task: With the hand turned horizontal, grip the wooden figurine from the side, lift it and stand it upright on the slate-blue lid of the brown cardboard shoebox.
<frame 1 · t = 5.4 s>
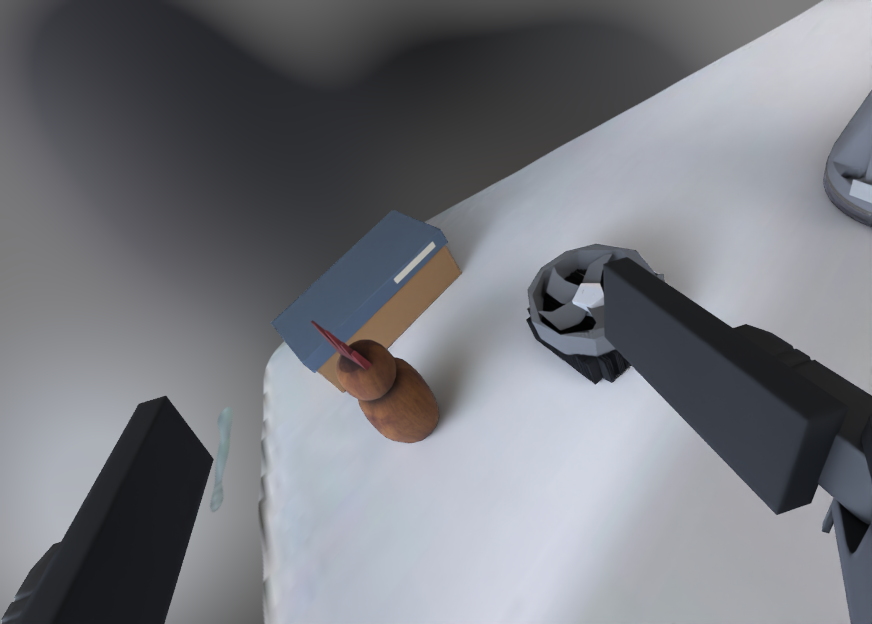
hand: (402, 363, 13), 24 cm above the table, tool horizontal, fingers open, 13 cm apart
shoebox: (384, 315, 54), on the table
wooden figurine: (419, 420, 42), on the table
cpu cooler: (601, 329, 39), on the table
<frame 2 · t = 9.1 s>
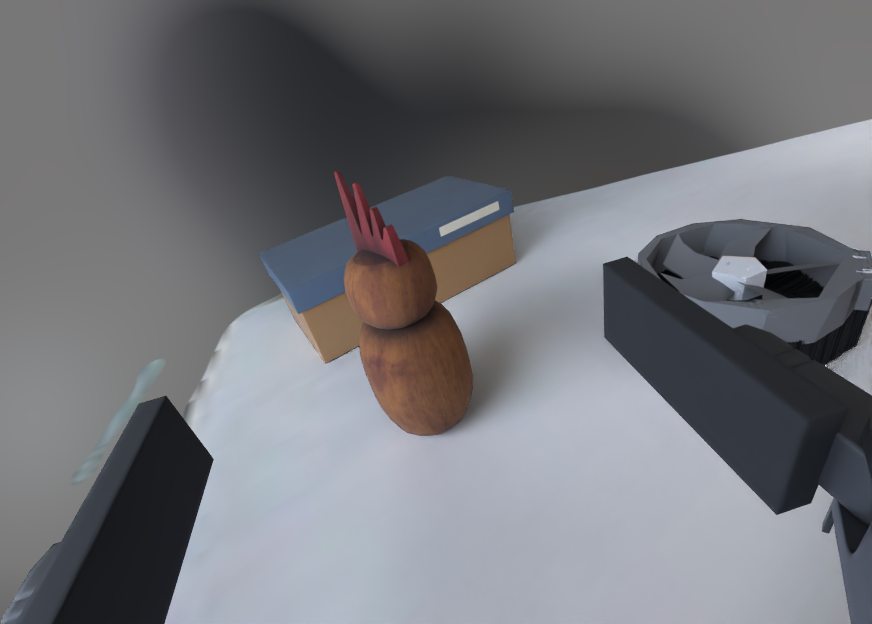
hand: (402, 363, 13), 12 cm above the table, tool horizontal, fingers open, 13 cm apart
shoebox: (404, 291, 41), on the table
wooden figurine: (432, 412, 28), on the table
cpu cooler: (727, 339, 27), on the table
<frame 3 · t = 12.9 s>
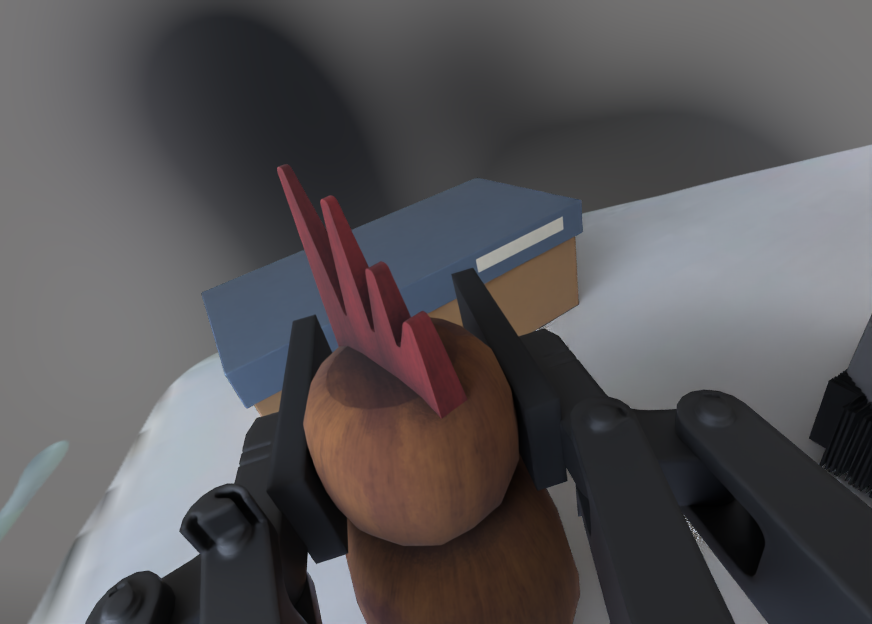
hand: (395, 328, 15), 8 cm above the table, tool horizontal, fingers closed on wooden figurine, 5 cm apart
shoebox: (417, 343, 29), on the table
wooden figurine: (480, 614, 15), on the table, touching gripper
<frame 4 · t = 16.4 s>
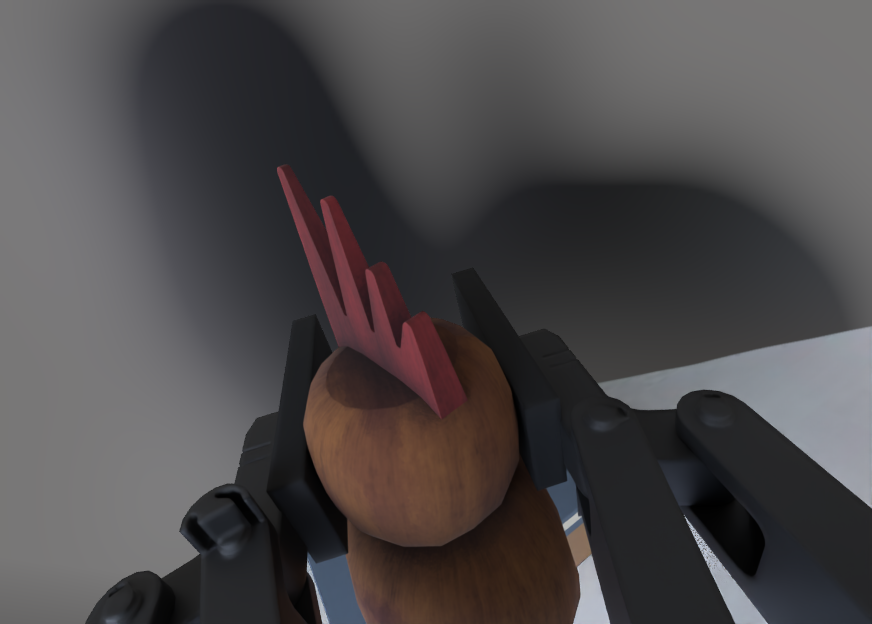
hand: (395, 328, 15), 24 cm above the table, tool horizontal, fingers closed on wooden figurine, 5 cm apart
shoebox: (481, 553, 32), on the table
wooden figurine: (480, 614, 15), point 15 cm above the table, touching gripper
when the fingers open (15 cm above the table, at t = 20.3 s): wooden figurine stays where it is, resting on shoebox.
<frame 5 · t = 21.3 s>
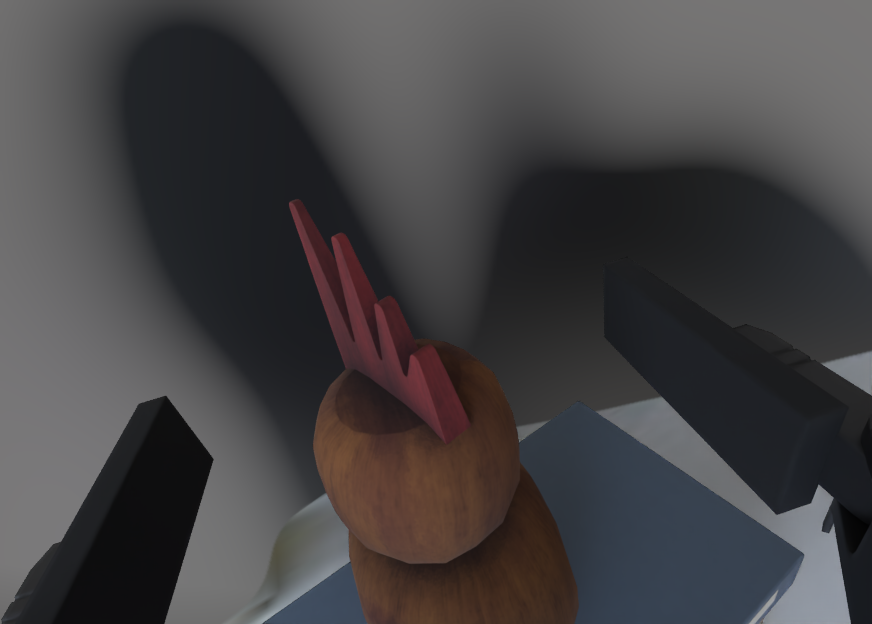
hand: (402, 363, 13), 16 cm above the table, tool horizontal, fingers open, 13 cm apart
wooden figurine: (482, 622, 15), point 7 cm above the table, touching shoebox
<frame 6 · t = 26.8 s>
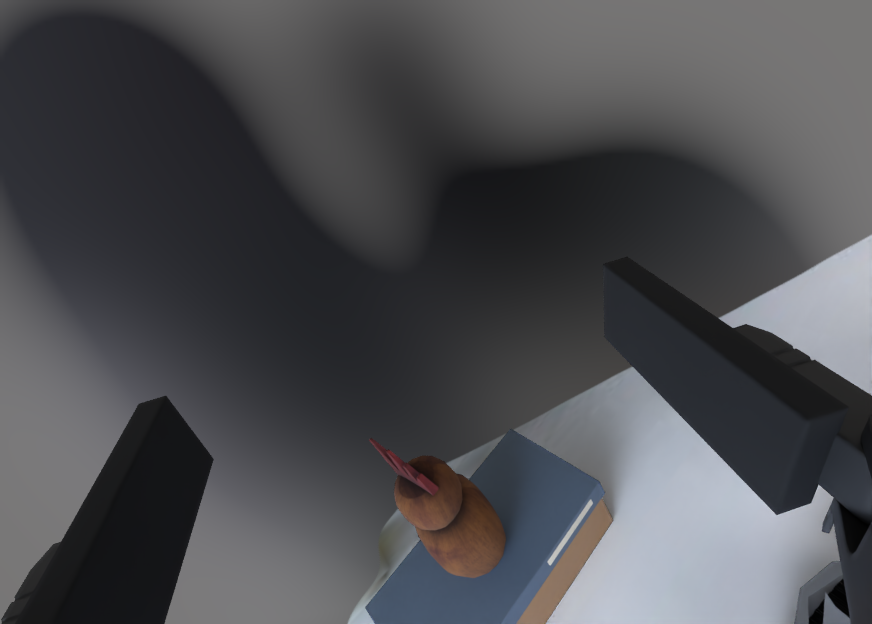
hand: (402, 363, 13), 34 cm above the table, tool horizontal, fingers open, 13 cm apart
shoebox: (509, 577, 40), on the table
wooden figurine: (480, 546, 36), point 7 cm above the table, touching shoebox
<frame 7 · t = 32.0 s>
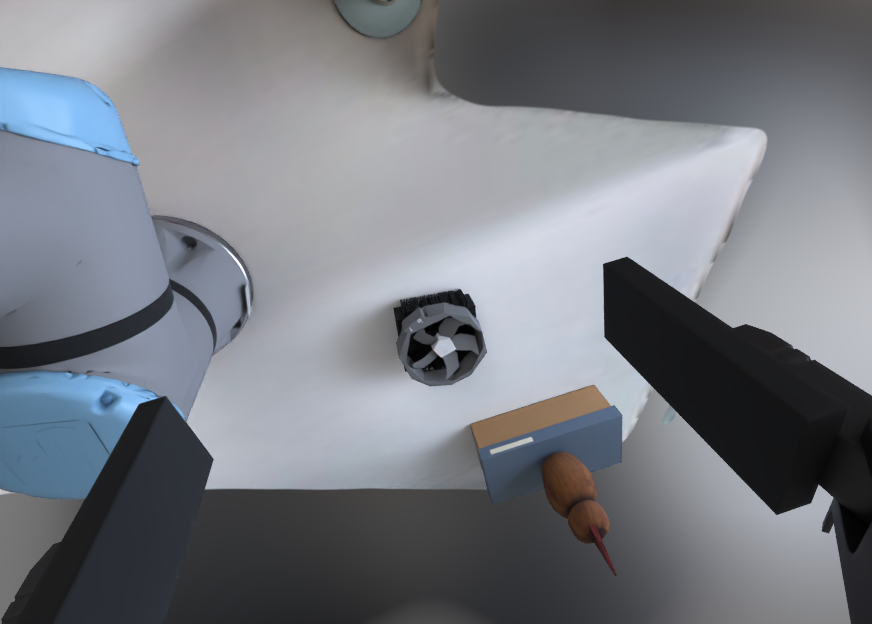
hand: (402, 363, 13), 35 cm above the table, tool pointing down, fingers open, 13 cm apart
shoebox: (535, 425, 67), on the table
wooden figurine: (554, 460, 61), point 7 cm above the table, touching shoebox
cpu cooler: (433, 324, 55), on the table
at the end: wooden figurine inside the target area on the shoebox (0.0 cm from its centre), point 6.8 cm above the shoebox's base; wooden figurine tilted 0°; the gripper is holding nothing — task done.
